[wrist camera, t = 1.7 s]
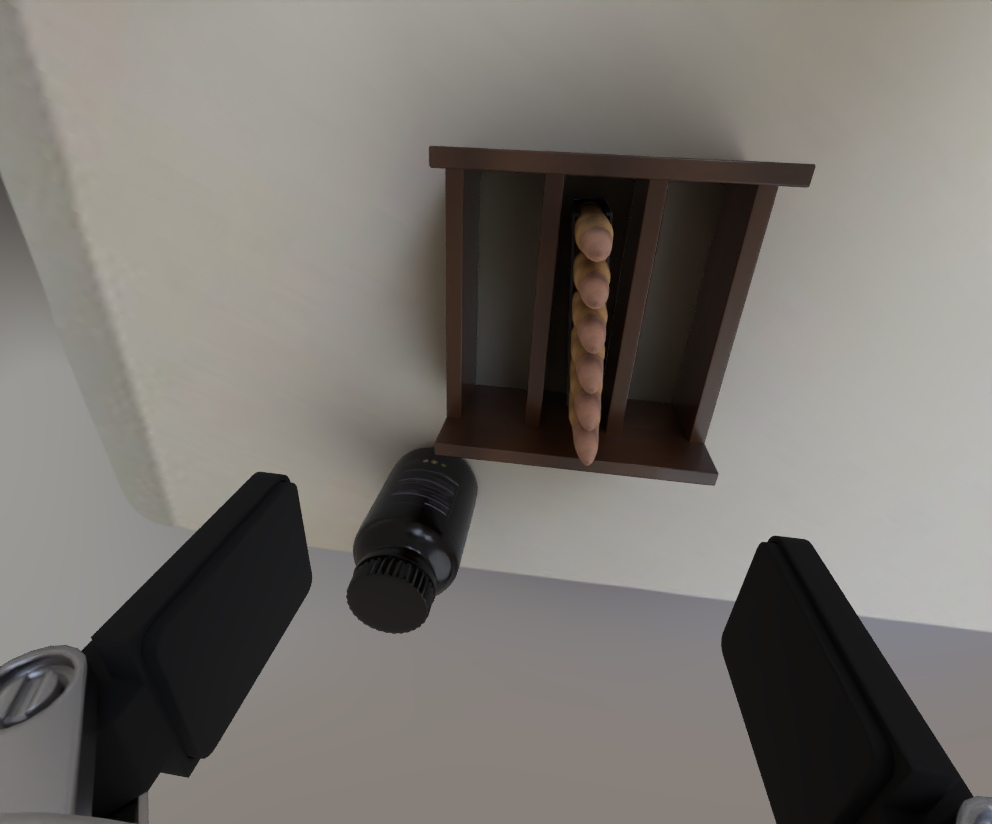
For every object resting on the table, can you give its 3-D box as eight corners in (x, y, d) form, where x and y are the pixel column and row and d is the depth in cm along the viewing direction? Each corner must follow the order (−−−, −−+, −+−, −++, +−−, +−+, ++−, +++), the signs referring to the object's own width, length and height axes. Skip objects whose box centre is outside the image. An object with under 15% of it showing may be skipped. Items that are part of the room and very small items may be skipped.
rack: (748, 162, 25) (816, 164, 18) (683, 415, 32) (715, 486, 25) (465, 148, 27) (428, 145, 20) (462, 393, 34) (434, 455, 27)
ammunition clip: (595, 375, 32) (607, 483, 21) (566, 375, 32) (565, 481, 22) (606, 198, 27) (629, 224, 16) (572, 199, 27) (574, 225, 17)
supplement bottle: (473, 524, 39) (437, 658, 29) (391, 505, 39) (326, 632, 29) (486, 454, 36) (452, 577, 25) (397, 434, 36) (326, 548, 26)
